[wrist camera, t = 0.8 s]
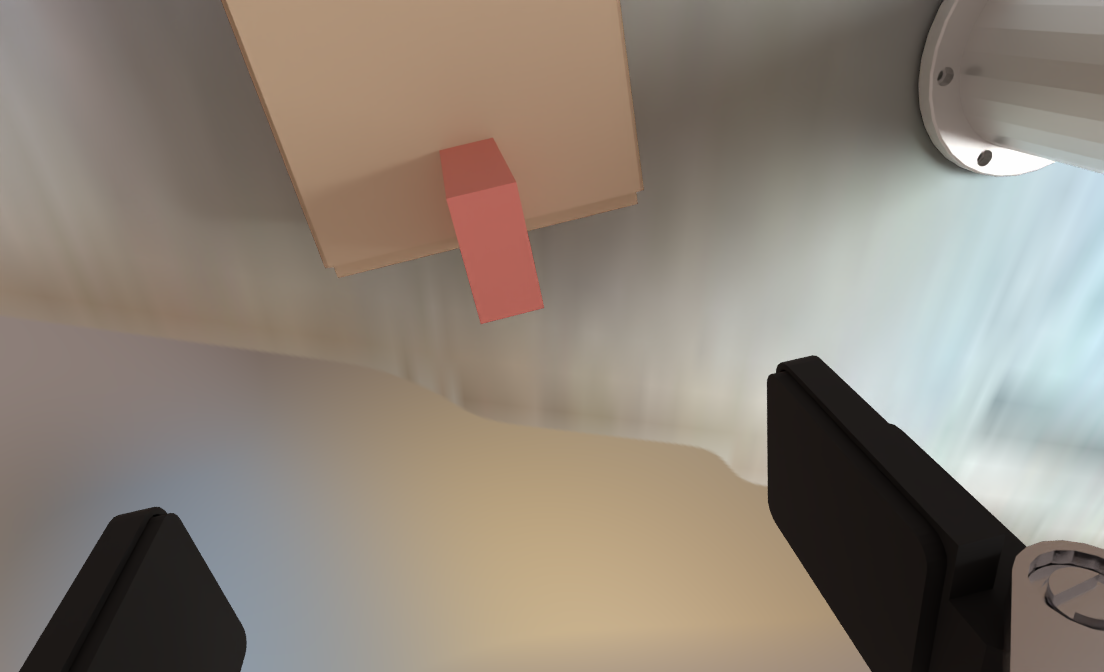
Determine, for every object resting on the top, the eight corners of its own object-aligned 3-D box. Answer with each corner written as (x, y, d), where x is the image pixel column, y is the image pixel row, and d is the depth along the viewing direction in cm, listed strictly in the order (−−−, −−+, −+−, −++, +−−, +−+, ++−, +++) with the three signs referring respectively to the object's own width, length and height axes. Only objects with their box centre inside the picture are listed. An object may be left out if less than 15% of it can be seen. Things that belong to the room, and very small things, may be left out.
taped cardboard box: (591, -159, 21) (662, -220, 15) (639, 204, 27) (705, 266, 21) (200, -77, 20) (106, -108, 14) (336, 279, 26) (312, 367, 20)
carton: (556, -137, 27) (597, -175, 21) (603, 164, 33) (645, 202, 27) (239, -71, 26) (186, -90, 20) (346, 226, 32) (330, 280, 26)
